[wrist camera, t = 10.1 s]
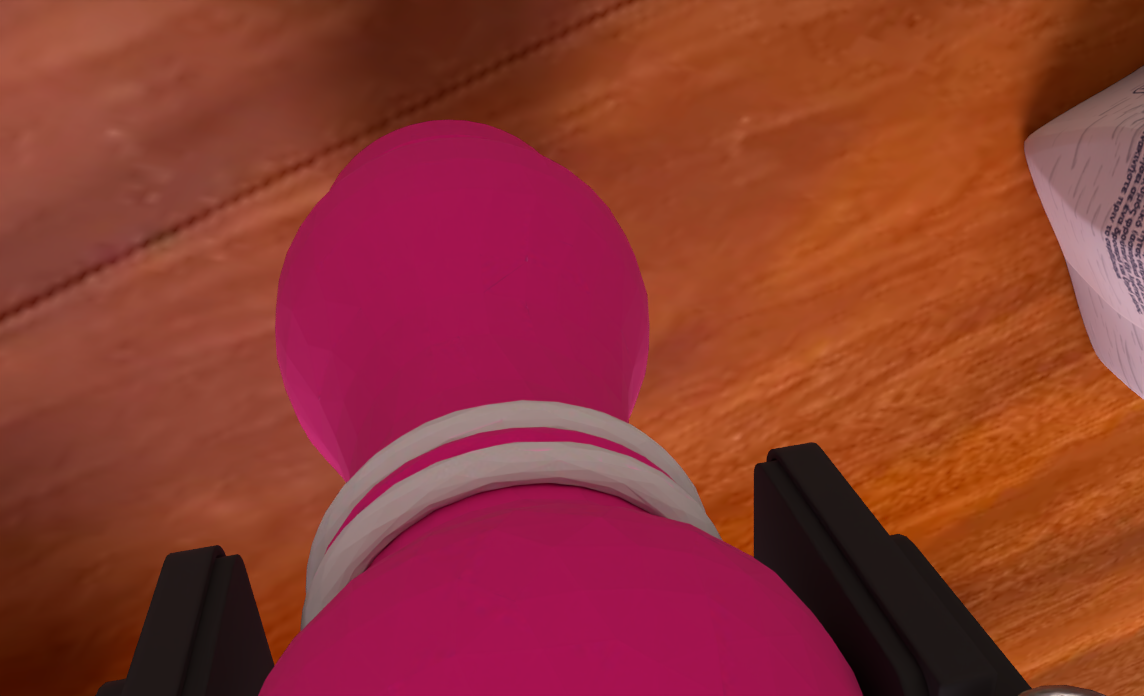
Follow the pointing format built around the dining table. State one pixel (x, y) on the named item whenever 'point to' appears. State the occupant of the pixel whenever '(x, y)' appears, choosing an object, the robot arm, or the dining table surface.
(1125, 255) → the juice carton
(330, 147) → the dining table surface
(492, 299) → the pepper mill
